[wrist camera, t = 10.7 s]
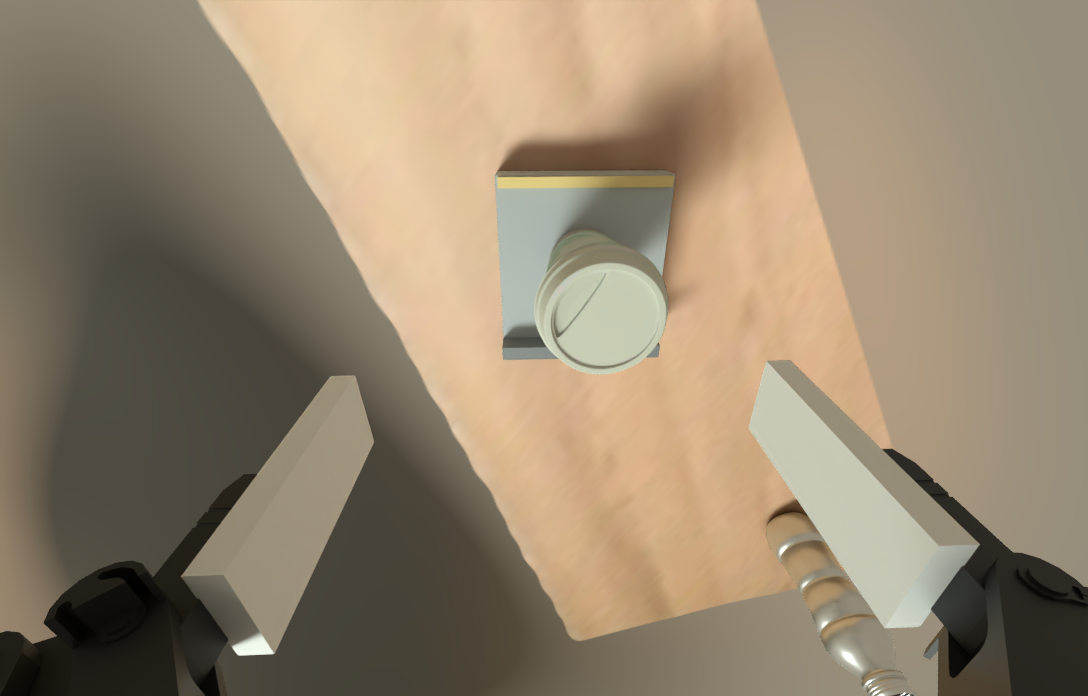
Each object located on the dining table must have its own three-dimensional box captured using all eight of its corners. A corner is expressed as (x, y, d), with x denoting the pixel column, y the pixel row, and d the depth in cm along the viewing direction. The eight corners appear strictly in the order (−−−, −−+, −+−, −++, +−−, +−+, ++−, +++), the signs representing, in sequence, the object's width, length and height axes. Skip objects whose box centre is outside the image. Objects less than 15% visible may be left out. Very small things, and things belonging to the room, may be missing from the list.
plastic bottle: (806, 534, 59) (924, 714, 41) (756, 540, 59) (852, 721, 41) (814, 502, 56) (944, 680, 38) (761, 508, 56) (867, 688, 38)
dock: (497, 170, 35) (492, 178, 31) (665, 169, 36) (684, 177, 31) (505, 334, 43) (503, 359, 38) (645, 332, 43) (658, 357, 39)
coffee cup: (613, 192, 34) (651, 227, 23) (646, 285, 37) (692, 351, 27) (515, 238, 35) (509, 290, 25) (557, 323, 39) (567, 400, 28)
